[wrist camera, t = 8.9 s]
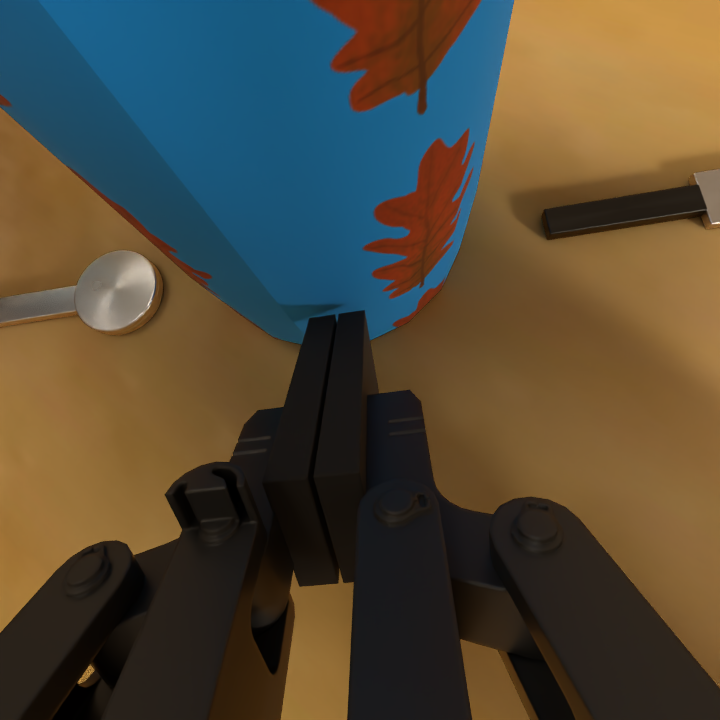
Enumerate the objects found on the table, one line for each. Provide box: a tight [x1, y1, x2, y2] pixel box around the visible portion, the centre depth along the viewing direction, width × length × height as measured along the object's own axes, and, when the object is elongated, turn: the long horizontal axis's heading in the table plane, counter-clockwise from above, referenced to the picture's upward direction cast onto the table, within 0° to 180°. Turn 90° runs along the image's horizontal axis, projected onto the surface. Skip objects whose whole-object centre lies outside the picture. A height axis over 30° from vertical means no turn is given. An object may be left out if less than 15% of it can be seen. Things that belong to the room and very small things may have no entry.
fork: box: [541, 169, 720, 240], centre depth 17 cm, size 10×2×1 cm, turn 96°
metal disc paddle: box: [0, 250, 163, 335], centre depth 19 cm, size 10×4×1 cm, turn 96°
